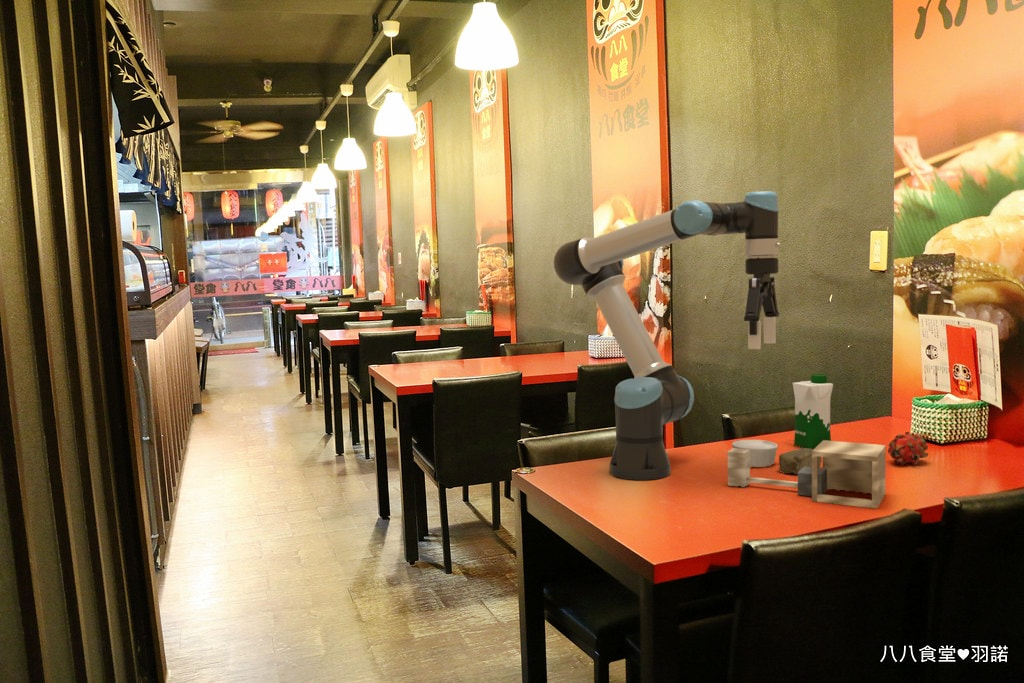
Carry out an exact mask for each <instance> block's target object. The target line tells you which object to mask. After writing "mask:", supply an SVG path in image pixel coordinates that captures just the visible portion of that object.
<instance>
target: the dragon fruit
mask: <svg viewBox="0 0 1024 683" xmlns="http://www.w3.org/2000/svg"><path fill="white" fill-rule="evenodd" d="M928 449H929V446H928V445H927V442H926V440H925V438H923V437H922V436H921V434H919V433H914V435H913V434H911V433H910V432H909V431H905V433H904V434H900V433H899V434H897V435H896V436H895V437H893V439H892V440H891V441H890V442H889V444H888V449H887V453H888V454H889V455H890V457H891V459H893V460H894V461H895V462H894V465H902V466H903V465H905V464H906V463H910V464H911V465H912V466H915V465H918V464H919V463H920V459H924V458H927V457H928V456H929V453H927V452H926V451H927V450H928Z"/></svg>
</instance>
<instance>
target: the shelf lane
mask: <svg viewBox="0 0 1024 683" xmlns="http://www.w3.org/2000/svg"><path fill="white" fill-rule="evenodd" d="M886 447H887V446H886V444H874V443H864V442H849V441H836V440H831V441H827V440H823V441H822V442H821V443H820V444H819V445H818V446H817V447H816V448H815V449H814V450H813V451H812V496H811V502H815V501H817V502H818V503H826V504H832V503H833V504H834V505H842V506H850V507H859V508H865V509H866V508H867V509H868V508H869V509H876V510H877V509H878V508H879V506H880V505H879V504H881V503H882V502H883V499H884V497H885V496H886V466H887V465H886V454H887V453H886V452H887V450H886V449H887V448H886ZM818 456H820V457H822V468H824V469H827V490H831V489H836V490H835V491H840V490H845V491H844V492H849V491H855V492H854V493H858V492H863V493H862V494H867V493H871V494H870V495H871V499H867V498H861V497H860V498H858V497H850V496H842V495H833V494H831V495H830V494H818ZM884 495H885V496H884ZM817 502H816V503H817Z"/></svg>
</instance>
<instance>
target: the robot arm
mask: <svg viewBox="0 0 1024 683" xmlns="http://www.w3.org/2000/svg"><path fill="white" fill-rule="evenodd" d="M779 212H780V211H779V202H778V194H777V193H776V192H775V191H771V190H767V191H766V190H763V191H762V190H760V191H750V192H747V193H745V195H744V201H739V202H724V203H723V202H709V201H702V200H697V199H696V200H688V201H684V202H681V203H680V205H679V206H678V207H676V208H675V209H671V210H669V211H666V212H663V213H660V214H658V215H654V216H652V217H648V218H646V219H643V220H639V221H637V222H636V223H632V224H629V225H627V226H624V227H621V228H618V229H616V230H613V231H609V232H608V233H604V234H602V235H599V236H596V237H594V238H590V237H588V236H587V237H586V236H584V237H581V238H579V239H576V240H573V241H567V242H566V243H564V244H562V245H561V246H559V248H558V249H557V251H556V252H555V255H554V257H553V268H554V272H555V273H556V275H557V277H558V278H559V279H560V280H562V282H564V283H565V284H569V285H571V286H581V288H582V290H583V292H584V293H585V296H586V297H587V298H590V299H592V300H594V301H595V303H596V304H597V306H598V307H599V310H600V311H601V315H602V317H603V318H604V320H605V322H606V323H607V325H608V327H609V329H610V332H611V333H612V335H613V337H614V339H615V341H616V343H617V345H618V347H619V349H620V351H621V353H622V355H623V356H624V358H625V360H626V363H627V365H628V366H629V368H630V370H631V372H632V375H633V376H634V378H628V379H625V380H622V381H620V382H619V383H618V384H617V385H616V386H615V393H614V399H613V400H614V407H615V408H614V410H615V412H614V413H615V415H614V416H615V445H614V449H613V452H612V456H611V459H610V462H609V473H610V475H612V476H613V477H616V478H620V479H624V480H625V479H626V480H636V481H639V480H641V481H647V480H648V481H649V480H650V481H651V480H658V479H662V478H665V477H668V476H669V475H670V474H671V462H670V459H669V457H668V453H667V451H666V447H665V444H664V439H663V438H664V436H663V435H664V433H663V432H664V431H663V430H664V428H663V426H664V425H667V424H669V423H675V422H677V421H679V420H681V419H682V418H684V417H686V416H687V415H688V414H689V412H690V411H691V410H692V408H693V404H694V402H695V393H694V389H693V386H692V385H691V383H690V382H689V381H688V380H687V378H685V377H682V376H680V375H678V374H677V372H676V370H675V368H674V366H673V365H672V364H671V363H668V362H665V361H664V360H663V358H662V356H661V354H660V352H659V351H658V349H657V346H656V345H655V342H654V340H653V339H652V337H651V335H650V333H649V331H648V330H647V328H646V325H645V324H644V322H643V321H642V318H641V317H640V315H639V312H638V310H637V309H636V307H635V305H634V303H633V302H632V300H631V298H630V295H629V294H628V292H627V289H626V288H625V286H624V281H625V279H626V276H625V274H624V272H623V270H624V268H623V267H624V260H625V259H629V258H632V257H635V256H638V255H641V254H644V253H648V252H650V251H653V250H655V249H659V248H662V247H665V246H668V245H670V244H674V243H676V242H679V241H683V240H687V239H690V238H693V237H695V236H698V235H699V236H700V235H701V236H717V235H719V236H720V235H730V234H731V235H732V234H734V235H735V234H744V235H745V236H744V237H745V238H744V239H745V241H744V254H745V255H744V256H746V257H747V258H746V260H745V274H747V275H753V278H752V277H751V278H749V279H748V290H747V298H746V305H745V307H746V308H745V312H744V313H745V314H744V316H743V321H744V322H747V349H748V350H761V349H762V348H761V347H762V346H761V345H762V344H761V343H762V341H761V340H762V339H761V335H762V334H761V320H760V317H761V313H762V312H761V311H762V309H763V312H764V316H763V344H777V340H776V337H777V335H776V334H777V333H776V324H777V323H776V321H777V319H776V318H779V317H780V312H779V310H778V309H779V308H778V301H777V295H776V294H777V293H776V286H775V276H771V274H774V275H775V274H778V273H779V259H778V257H776V256H778V255H779V247H781V242H780V241H779Z"/></svg>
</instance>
